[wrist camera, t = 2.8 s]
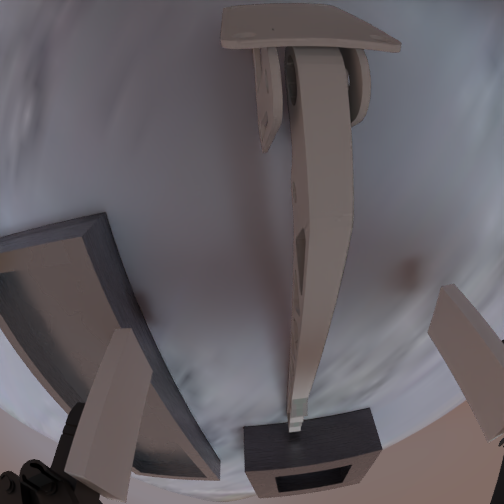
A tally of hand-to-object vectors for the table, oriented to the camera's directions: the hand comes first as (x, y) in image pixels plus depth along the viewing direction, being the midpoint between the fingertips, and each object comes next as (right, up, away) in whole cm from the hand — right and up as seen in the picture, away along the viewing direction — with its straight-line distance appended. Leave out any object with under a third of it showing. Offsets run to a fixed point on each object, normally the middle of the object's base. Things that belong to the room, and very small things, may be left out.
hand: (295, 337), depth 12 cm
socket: (+3, -14, +11) cm, 18 cm away
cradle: (-11, -7, +6) cm, 14 cm away
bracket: (0, +2, +3) cm, 3 cm away
